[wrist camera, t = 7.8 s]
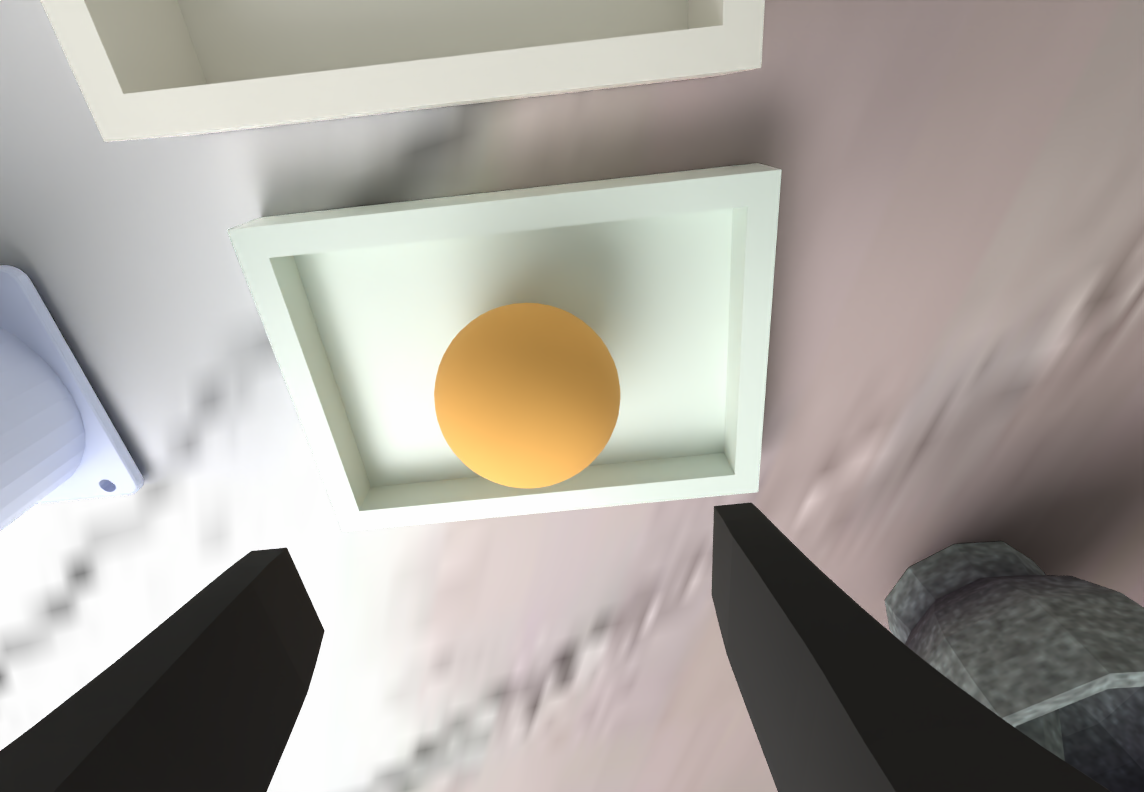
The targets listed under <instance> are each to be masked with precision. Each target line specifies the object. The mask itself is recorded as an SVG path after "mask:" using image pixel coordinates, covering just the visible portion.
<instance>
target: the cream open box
mask: <svg viewBox="0 0 1144 792" xmlns="http://www.w3.org/2000/svg"><path fill="white" fill-rule="evenodd" d="M40 1H41V3H42V6H43V8H44V10H45V12H46V14H47V17H48V19H49V21H50V23H51V25H52V28H53V30H54V32H55V34H56V37H57V39H58V41H59V43H60V45H61V48H62V50H63V52H64V54H65V56H66V59H67V61H68V63H69V65H70V68H71V70H72V72H73V74H74V76H75V79H76V81H77V83H78V85H79V87H80V90H81V92H82V94H83V96H84V99H85V101H86V103H87V105H88V107H89V110H90V112H91V114H92V116H93V118H94V121H95V123H96V125H97V127H98V130H99V132H100V134H101V136H102V138H103V141H104V142H111V141H124V140H137V139H150V138H162V137H175V136H188V135H201V134H210V133H218V132H227V131H236V130H245V129H254V128H263V127H272V126H280V125H289V124H298V123H307V122H316V121H325V120H334V119H342V118H351V117H360V116H369V115H378V114H387V113H396V112H404V111H413V110H422V109H431V108H440V107H449V106H458V105H467V104H475V103H484V102H493V101H502V100H511V99H520V98H529V97H537V96H546V95H555V94H564V93H573V92H582V91H591V90H599V89H608V88H617V87H626V86H635V85H644V84H653V83H662V82H670V81H679V80H688V79H697V78H706V77H715V76H721V75H726V74H731V73H737V72H742V71H747V70H752V69H758V68H761V64H762V45H763V26H764V7H765V0H40Z"/></svg>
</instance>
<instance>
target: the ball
mask: <svg viewBox="0 0 1144 792" xmlns="http://www.w3.org/2000/svg"><path fill="white" fill-rule="evenodd" d="M434 401H435V411H436V416H437V420H438V423H439V426H440V429H441V431H442V434H443V436H444V438H445V440H446V442H447V444H448V445H449V447H450V448H451V449H452V451H453V452H454V453H455V455H456V456H457V457H458V458H459V459H460V460H461V461H462V462H463V463H464V464H465V465H466V466H467V467H468V468H470V469H471V470H472V471H474V472H475V473H477V474H478V475H480V476H482V477H484V478H486V479H488V480H490V481H492V482H495V483H498V484H500V485H504V486H508V487H514V488H541V487H546V486H551V485H554V484H557V483H560V482H562V481H565V480H567V479H569V478H571V477H573V476H574V475H576V474H578V473H580V472H581V471H582V470H584V469H585V468H586V467H588V466H589V465H590V464H591V463H592V462H593V461H594V460H595V459H596V458H597V456H598V455H599V454H600V453H601V452H602V450H603V449H604V448H605V446H606V444H607V443H608V441H609V439H610V437H611V435H612V433H613V430H614V428H615V426H616V422H617V419H618V415H619V407H620V384H619V378H618V372H617V369H616V366H615V363H614V360H613V358H612V356H611V354H610V352H609V350H608V348H607V347H606V345H605V344H604V342H603V341H602V339H601V338H600V337H599V336H598V335H597V334H596V332H595V331H594V330H593V329H592V328H591V327H589V326H588V325H587V324H586V323H585V322H583V321H582V320H581V319H579V318H578V317H576V316H574V315H573V314H571V313H569V312H567V311H565V310H562V309H560V308H557V307H553V306H550V305H545V304H539V303H515V304H510V305H505V306H501V307H498V308H495V309H492V310H490V311H488V312H486V313H484V314H482V315H480V316H479V317H477V318H476V319H474V320H473V321H471V322H470V323H469V324H468V325H466V326H465V327H464V328H463V329H462V330H461V331H460V332H459V333H458V334H457V335H456V337H455V338H454V339H453V340H452V342H451V343H450V345H449V346H448V348H447V350H446V351H445V353H444V355H443V357H442V360H441V362H440V364H439V368H438V372H437V375H436V380H435V388H434Z"/></svg>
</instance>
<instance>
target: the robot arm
mask: <svg viewBox="0 0 1144 792" xmlns="http://www.w3.org/2000/svg"><path fill="white" fill-rule="evenodd" d="M110 481H111V482H113V483H114V484H113V483H111V482H110ZM143 485H144V479H143V476H142V475H141V473H140V471H139V469H138V468H137V466H136V464H135V462H134V461H133V459H132V457H131V455H130V454H129V452H128V450H127V448H126V447H125V445H124V443H123V441H122V440H121V438H120V436H119V434H118V432H117V431H116V429H115V427H114V425H113V424H112V422H111V420H110V418H109V417H108V415H107V413H106V411H105V410H104V408H103V406H102V404H101V403H100V401H99V399H98V397H97V396H96V394H95V392H94V390H93V389H92V387H91V385H90V383H89V382H88V380H87V378H86V376H85V375H84V373H83V371H82V369H81V367H80V366H79V364H78V362H77V360H76V359H75V357H74V355H73V353H72V352H71V350H70V348H69V346H68V345H67V343H66V341H65V339H64V338H63V336H62V334H61V332H60V331H59V329H58V327H57V325H56V324H55V322H54V320H53V318H52V317H51V315H50V313H49V311H48V309H47V308H46V306H45V304H44V302H43V301H42V299H41V297H40V295H39V294H38V292H37V290H36V288H35V287H34V285H33V283H32V281H31V280H30V279H29V277H28V276H27V275H26V274H25V273H24V272H23V271H21V270H20V269H18V268H16V267H13V266H8V265H1V266H0V531H1V530H2V529H4V528H5V527H6V526H8V525H9V524H10V523H12V522H13V521H14V520H16V519H17V518H18V517H19V516H21V515H22V514H23V513H25V512H26V511H27V510H29V509H30V508H31V507H33V506H34V505H35V504H44V503H54V502H64V501H74V500H84V499H94V498H105V497H115V496H125V495H131V494H135V493H136V492H137V491H138V490H139V489H140V488H141V487H142V486H143ZM712 598H713V602H714V606H715V610H716V614H717V618H718V622H719V626H720V630H721V634H722V638H723V641H724V645H725V649H726V653H727V656H728V659H729V661H730V664H731V667H732V670H733V672H734V675H735V678H736V681H737V683H738V686H739V689H740V691H741V694H742V697H743V699H744V702H745V705H746V708H747V710H748V713H749V716H750V718H751V721H752V724H753V726H754V729H755V732H756V734H757V737H758V740H759V742H760V745H761V748H762V750H763V753H764V756H765V758H766V761H767V764H768V766H769V769H770V772H771V774H772V777H773V780H774V782H775V785H776V788H777V790H778V792H1111V791H1110V790H1108V789H1107V788H1105V787H1104V786H1102V785H1101V784H1099V783H1097V782H1096V781H1094V780H1093V779H1091V778H1090V777H1088V776H1087V775H1085V774H1084V773H1082V772H1081V771H1079V770H1078V769H1076V768H1074V767H1073V766H1071V765H1070V764H1068V763H1067V762H1065V761H1064V760H1062V759H1061V758H1059V757H1058V756H1056V755H1054V754H1053V753H1051V752H1050V751H1048V750H1047V749H1045V748H1044V747H1042V746H1041V745H1039V744H1038V743H1037V742H1035V741H1034V740H1032V739H1031V738H1029V737H1028V736H1026V735H1025V734H1023V733H1022V732H1021V731H1019V730H1018V729H1016V728H1015V727H1013V726H1012V725H1010V724H1009V723H1008V722H1006V721H1005V720H1003V719H1002V718H1001V717H999V716H998V715H997V714H995V713H994V712H992V711H991V710H990V709H988V708H987V707H986V706H984V705H983V704H982V703H980V702H979V701H977V700H976V699H975V698H973V697H972V696H971V695H969V694H968V693H967V692H965V691H964V690H962V689H961V688H960V687H958V686H957V685H956V684H954V683H953V682H952V681H950V680H949V679H948V678H947V677H945V676H944V675H943V674H941V673H940V672H939V671H938V670H936V669H935V668H934V667H932V666H931V665H930V664H929V663H927V662H926V661H925V660H924V659H922V658H921V657H920V656H919V655H917V654H916V653H915V652H914V651H912V650H911V649H910V648H909V647H908V646H906V645H905V644H904V643H903V642H902V641H900V640H899V639H898V638H897V637H896V636H894V635H893V634H892V633H891V632H889V631H888V630H887V629H886V628H885V627H883V626H882V625H881V624H880V623H879V622H878V621H876V620H875V619H874V618H873V617H872V616H871V615H870V614H868V613H867V612H866V611H865V610H864V609H863V608H861V607H860V606H859V605H858V604H857V603H856V602H855V601H854V600H853V599H851V598H850V597H849V596H848V595H847V594H846V593H845V592H844V591H843V590H842V589H840V588H839V587H838V586H837V585H836V584H835V583H834V582H833V581H832V580H831V579H829V578H828V577H827V576H826V575H825V574H824V573H823V572H822V571H821V570H820V569H819V568H818V567H817V566H815V565H814V564H813V563H812V562H811V561H810V560H809V559H808V558H807V557H806V556H805V555H804V554H803V553H802V552H801V551H800V550H799V549H798V548H797V547H796V546H795V545H794V544H793V543H792V542H791V541H790V540H789V539H788V538H787V537H786V536H785V535H784V534H783V533H782V532H781V531H780V530H779V529H778V528H777V527H776V526H775V525H774V524H773V523H772V522H771V521H770V520H769V519H768V518H767V517H766V516H765V515H764V514H763V513H762V512H761V511H760V510H759V509H758V508H757V507H756V506H754V505H753V504H752V503H743V504H732V505H722V506H714V528H713V565H712ZM323 634H324V629H323V627H322V624H321V622H320V620H319V618H318V616H317V613H316V611H315V609H314V607H313V605H312V602H311V600H310V598H309V596H308V594H307V591H306V589H305V587H304V585H303V582H302V580H301V578H300V576H299V574H298V571H297V569H296V567H295V565H294V563H293V560H292V558H291V556H290V554H289V552H288V549H287V548H279V549H269V550H258V551H251V552H250V553H248V554H247V555H246V556H244V557H243V558H242V559H240V560H239V561H238V562H236V563H235V564H234V565H232V566H231V567H230V568H229V569H227V570H226V571H225V572H224V573H222V574H221V575H220V576H219V577H217V578H216V579H215V580H214V581H213V582H211V583H210V584H209V585H208V586H206V587H205V588H204V589H203V590H202V591H200V592H199V593H198V594H197V595H196V596H194V597H193V598H192V599H191V600H190V601H188V602H187V603H186V604H185V605H184V606H182V607H181V608H180V609H179V610H178V611H176V612H175V613H174V614H173V615H172V616H170V617H169V618H168V619H167V620H166V621H164V622H163V623H162V624H161V625H160V626H158V627H157V628H156V629H155V630H154V631H152V632H151V633H150V634H149V635H148V636H146V637H145V638H144V639H143V640H141V641H140V642H139V643H138V644H137V645H135V646H134V647H133V648H132V649H131V650H129V651H128V652H127V653H126V654H125V655H123V656H122V657H121V658H120V659H118V660H117V661H116V662H115V663H114V664H112V665H111V666H110V667H108V668H107V669H106V670H105V671H103V672H102V673H101V674H100V675H98V676H97V677H96V678H94V679H93V680H92V681H91V682H89V683H88V684H87V685H86V686H84V687H83V688H82V689H80V690H79V691H78V692H77V693H75V694H74V695H73V696H71V697H70V698H69V699H68V700H66V701H65V702H64V703H63V704H61V705H60V706H59V707H57V708H56V709H55V710H54V711H52V712H51V713H50V714H49V715H47V716H46V717H45V718H43V719H42V720H41V721H40V722H38V723H37V724H36V725H35V726H33V727H32V728H31V729H29V730H28V731H27V732H25V733H24V734H23V735H21V736H20V737H19V738H17V739H16V740H15V741H13V742H12V743H11V744H9V745H8V746H6V747H5V748H4V749H2V750H1V751H0V792H266V791H267V789H268V787H269V784H270V782H271V779H272V777H273V775H274V772H275V770H276V768H277V765H278V763H279V760H280V758H281V756H282V753H283V751H284V749H285V746H286V744H287V741H288V739H289V736H290V734H291V732H292V729H293V727H294V724H295V722H296V719H297V717H298V715H299V712H300V710H301V707H302V705H303V702H304V700H305V697H306V695H307V692H308V688H309V685H310V682H311V678H312V675H313V672H314V668H315V665H316V661H317V657H318V654H319V650H320V646H321V642H322V638H323Z"/></svg>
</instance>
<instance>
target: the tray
mask: <svg viewBox="0 0 1144 792" xmlns="http://www.w3.org/2000/svg"><path fill="white" fill-rule="evenodd" d="M781 172H782V169H778V168H774V167H771V166H767V165H764V164H760V163H753V164H744V165H734V166H725V167H716V168H707V169H698V170H689V171H679V172H670V173H661V174H652V175H643V176H634V177H624V178H615V179H606V180H597V181H588V182H579V183H570V184H560V185H551V186H542V187H533V188H524V189H515V190H505V191H496V192H487V193H478V194H469V195H460V196H451V197H441V198H432V199H423V200H414V201H405V202H396V203H386V204H377V205H368V206H359V207H350V208H341V209H332V210H322V211H313V212H304V213H295V214H286V215H277V216H267V217H260V218H257V219H254V220H252V221H249V222H246V223H244V224H241V225H238V226H236V227H233V228H230V229H228V230H227V232H228V235H229V237H230V240H231V242H232V245H233V248H234V250H235V253H236V256H237V258H238V261H239V263H240V266H241V269H242V271H243V274H244V276H245V279H246V282H247V284H248V287H249V289H250V292H251V295H252V297H253V300H254V303H255V305H256V308H257V310H258V313H259V316H260V318H261V321H262V323H263V326H264V329H265V331H266V334H267V336H268V339H269V342H270V344H271V347H272V350H273V352H274V355H275V357H276V360H277V363H278V365H279V368H280V370H281V373H282V376H283V378H284V381H285V383H286V386H287V389H288V391H289V394H290V397H291V399H292V402H293V404H294V407H295V410H296V412H297V415H298V417H299V420H300V423H301V425H302V428H303V430H304V433H305V436H306V438H307V441H308V443H309V446H310V449H311V451H312V454H313V457H314V459H315V462H316V464H317V467H318V470H319V472H320V475H321V477H322V480H323V483H324V485H325V488H326V490H327V493H328V496H329V498H330V501H331V504H332V506H333V509H334V511H335V514H336V517H337V519H338V522H339V524H340V527H341V530H342V532H349V531H359V530H369V529H380V528H390V527H401V526H411V525H421V524H432V523H442V522H453V521H463V520H473V519H484V518H494V517H504V516H515V515H525V514H536V513H546V512H556V511H567V510H577V509H588V508H598V507H608V506H619V505H629V504H639V503H650V502H660V501H671V500H681V499H691V498H702V497H712V496H723V495H733V494H743V493H754V492H758V486H759V472H760V459H761V445H762V431H763V418H764V404H765V390H766V377H767V363H768V349H769V336H770V322H771V308H772V295H773V281H774V267H775V254H776V240H777V226H778V213H779V199H780V185H781ZM515 303H539V304H545V305H550V306H553V307H557V308H560V309H562V310H565V311H567V312H569V313H571V314H573V315H574V316H576V317H578V318H579V319H581V320H582V321H583V322H585V323H586V324H587V325H588V326H589V327H591V328H592V329H593V330H594V331H595V332H596V334H597V335H598V336H599V337H600V338H601V339H602V341H603V342H604V344H605V345H606V347H607V348H608V350H609V352H610V354H611V356H612V358H613V360H614V363H615V366H616V369H617V372H618V378H619V384H620V407H619V415H618V419H617V422H616V426H615V428H614V430H613V433H612V435H611V437H610V439H609V441H608V443H607V444H606V446H605V448H604V449H603V450H602V452H601V453H600V454H599V455H598V456H597V458H596V459H595V460H594V461H593V462H592V463H591V464H590V465H589V466H588V467H586V468H585V469H584V470H582V471H581V472H580V473H578V474H576V475H574V476H573V477H571V478H569V479H567V480H565V481H562V482H560V483H557V484H554V485H551V486H546V487H541V488H514V487H508V486H504V485H500V484H498V483H495V482H492V481H490V480H488V479H486V478H484V477H482V476H480V475H478V474H477V473H475V472H474V471H472V470H471V469H470V468H468V467H467V466H466V465H465V464H464V463H463V462H462V461H461V460H460V459H459V458H458V457H457V456H456V455H455V453H454V452H453V451H452V449H451V448H450V447H449V445H448V444H447V442H446V440H445V438H444V436H443V434H442V431H441V429H440V426H439V423H438V420H437V416H436V411H435V401H434V388H435V380H436V375H437V372H438V368H439V364H440V362H441V360H442V357H443V355H444V353H445V351H446V350H447V348H448V346H449V345H450V343H451V342H452V340H453V339H454V338H455V337H456V335H457V334H458V333H459V332H460V331H461V330H462V329H463V328H464V327H465V326H466V325H468V324H469V323H470V322H471V321H473V320H474V319H476V318H477V317H479V316H480V315H482V314H484V313H486V312H488V311H490V310H492V309H495V308H498V307H501V306H505V305H510V304H515Z"/></svg>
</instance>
